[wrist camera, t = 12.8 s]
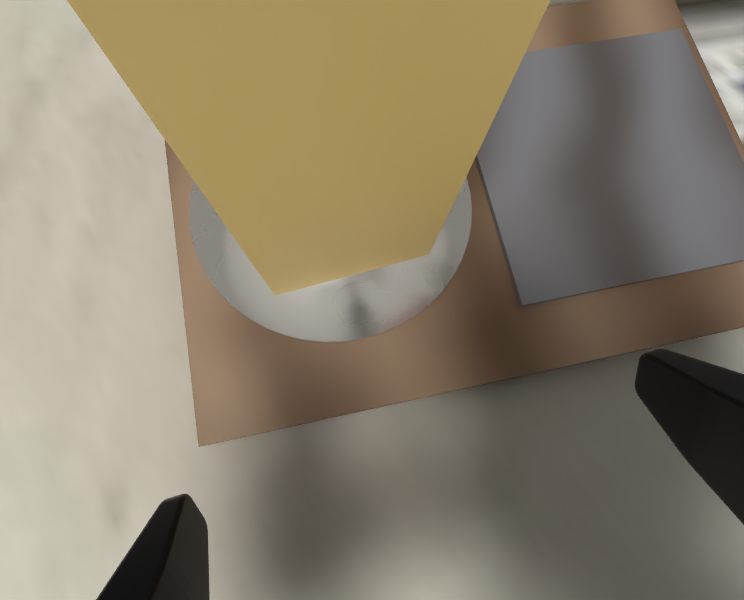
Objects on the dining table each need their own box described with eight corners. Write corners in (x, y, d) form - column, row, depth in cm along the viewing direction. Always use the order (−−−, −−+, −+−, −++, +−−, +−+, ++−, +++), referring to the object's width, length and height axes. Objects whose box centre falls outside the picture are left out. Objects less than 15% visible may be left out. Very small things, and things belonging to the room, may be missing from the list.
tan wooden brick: (429, 254, 16) (606, -117, 5) (274, 295, 16) (55, -17, 4) (384, 123, 18) (438, -414, 6) (240, 155, 17) (2, -371, 6)
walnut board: (658, 5, 21) (674, -17, 20) (800, 314, 18) (829, 308, 17) (164, 76, 19) (152, 57, 18) (206, 445, 16) (195, 447, 14)
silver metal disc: (320, 406, 15) (306, 405, 11) (134, 195, 17) (62, 125, 13) (526, 215, 17) (579, 153, 13) (342, 44, 19) (339, -57, 15)
